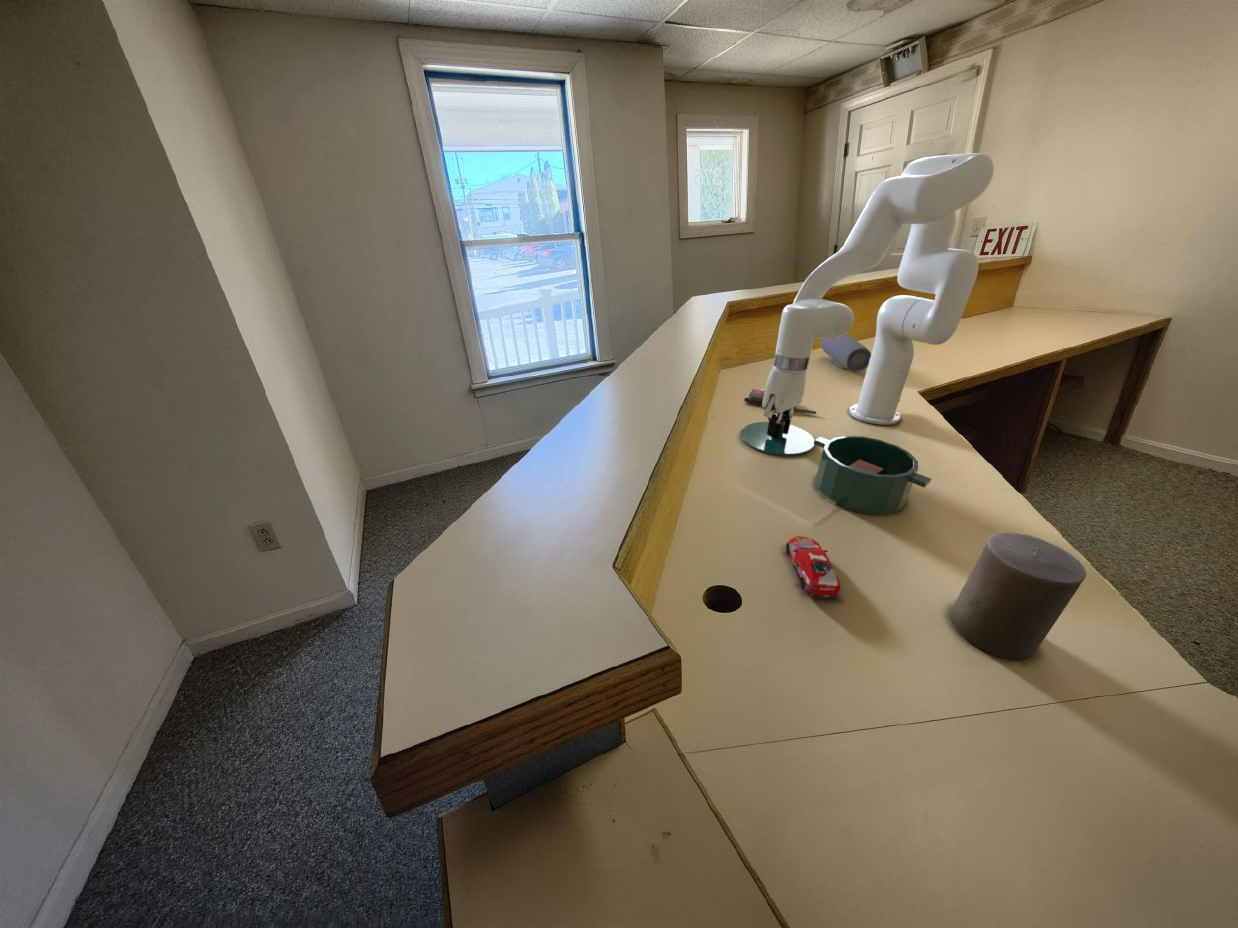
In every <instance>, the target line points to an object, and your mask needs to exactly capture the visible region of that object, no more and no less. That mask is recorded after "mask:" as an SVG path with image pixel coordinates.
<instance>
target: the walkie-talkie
mask: <svg viewBox="0 0 1238 928" xmlns="http://www.w3.org/2000/svg"><path fill="white" fill-rule="evenodd" d="M765 389H766V388H762V389H756V388H755V389H754V388H752V389H751V391H750V392H749V394H748V397H745V398H744V399H743V401H744V402H746V403H748V404H750V405H756V406H762V403H763V398H764V393H765ZM775 409H776V408H775ZM793 413H800V414H806V413H807V414H812V415H816V414H817V411H816V410H810V409H804V408H798V407H796V408H795V410H794V412H793Z"/></svg>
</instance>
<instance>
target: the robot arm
mask: <svg viewBox="0 0 1238 928" xmlns="http://www.w3.org/2000/svg"><path fill="white" fill-rule="evenodd" d="M994 167H995V165H994V162H993V159H992V158H991V157H990V156H989V155H988V154H985V153H981V152H976V153H974V152H973V153H961V154H944V155H943V154H942V155H934V156H933V155H932V156H925V157H921V158H918V159H915V160H913V161H911V162H910V163H908V164H907V165H906V166H905V167H904V169H903V171H902V173H901V175H900V176H899V175H898V176H893V177H890V178H886V179H884V180H883V181H882V182H880V183H879V184H878V185H877V186H876V188H875V189H874V191H873V193H872V194H871V195H870V198H869V199H868V201H867V203H866V205H865V207H864V208H863V210H862V211H861V213H860V215H859V217H858V219H857V220H856V223H855V225H854V226H853V228H852V230H851V231H850V233H849V235H848V237H847V238H846V241H845V242H844V244H843V245H842V247H841V248H840V249H838V251H836V252H835V253H833V254H832V255H830V257H828V258H827V259H826V260H824V261H823V262H822V263H821V264H820V265H819V266H818V267H816V268H815V269H814V270H813V271H812V272H811V273H810V274H808V276H807V277H806V278H805V280H804V282H803V283H802V285H801V286H800V289H799V291H798V292H797V294H796V296H795V297H794V299H793V302H792V303H790V304H787V305H786V306H784V308H783V309H782V311H781V317H780V323H779V328H778V334H777V340H776V347H775V353H774V358H773V365H772V368H771V370H770V372H769V375H768V378H767V381H766V385H765V388H764V389H765V390H764V391H765V393H764V398H763V403H762V405H761V406H762V408H763V409H765V410H764V412H763V416H764V417H766V418H767V422H769V424H768V430H767V435H769V436H771V437H774V438H776V439H777V438H779V436H780V431H781V426H782V423H780V422H781V418H782V419H784V420H785V421H786V422H785V427H784V432H783V433H784V434H788V432H789V427H790V425H791V421H792V419H793V417H794V413H795V412H794V410H795V408H798V406H799V405H800V404H801V403H802V402H803V401H802V400H803V397H804V392H805V388H806V383H807V382H806V381H807V373H808V372H807V371H808V370H809V364H810V359H811V354H812V350H813V345H814V341H815V339H821V340H822V339H835V338H839V337H841V336H843V335H847V333H848V332H849V331H850V330H851V329H852V327H853V325H854V322H855V315H854V311H852V309H851V308H850V307H849V306H847V304H843V303H841V302H835V301H832V300H828V299H823V298H824V296H825V295H826V293H827V292H828V291H829V290H830V289H831V288H832V287H833V286H834V285H835V284H837V283H838V282H840V281H841V280H844V279H846V278H848V277H851V276H854V275H857V274H859V273H861V272H865V271H867V270H871V269H873V268H875V267H877V266H878V265H880V264H881V262H882V261H883V259H884V258H885V255H886V254H887V253H888V250H889V249H890V247H891V245H892V243H893V242H894V240H895V238H897V235H898V233H899V232H900V230H901V229H902V227H903V226H904V225H910V229H909V233H908V238H907V241H906V245H905V247H904V250H903V254H902V256H901V261H900V264H899V268H898V271H897V278H896V281H897V283H898V286H900V287H901V288H902V289H906V290H909V291H913V292H914V291H915V292H919V293H925V294H933V295H935V297H934V299H929V298H926V297H925V298H924V297H919V296H914V295H907V294H905V295H904V294H903V295H901V294H900V295H894V296H891V297H889V298H888V299H886V300H885V301H884V302H883V303H882V304H881V306H880V308H879V309H878V313H877V316H876V327H875V330H876V331H875V337H874V342H873V348H872V351H871V358H870V361H869V365H868V366H867V367H866V368H867V369H866V373H865V376H864V379H863V383H862V386H861V390H860V393H859V397H858V401H857V403H855V404H853V405H851V406H850V407H849V411H848V412H849V414H850V415H851V417H853V418H854V419H857V420H858V421H861V422H864V423H867V424H872V425H880V426H890V425H895V424H897V423H900V420H901V418H902V416H901V414H900V413H899V411H897V409H898V405H899V403H900V402H901V397H902V394H903V390H904V387H905V385H906V382H907V378H908V375H909V372H910V370H911V366H912V364H913V361H914V357H915V348H914V342H919V343H922V344H927V345H933V346H937V345H942V344H944V343H946V342H947V341H949V340H950V339H951V337H952V336H953V335H954V333H955V332H956V330H957V328H958V326H959V324H960V322H961V319H962V317H963V314H964V311H965V310H966V309H965V308H966V306H967V304H968V301H969V298H970V296H971V293H972V291H973V288H974V286H975V283H976V280H977V277H978V273H979V259H978V257H977V255H976V254H975V253H974V252H972V251H970V250H967V249H961V248H960V249H959V248H950V246H951V242H952V239H953V235H954V231H955V229H956V225H957V214H956V212H957V211H959V210H960V209H962V208H965V207H966V206H968V205H970V204H971V203H973V202H974V201H976V200H977V199H978V198H980V196H982V194H983V193H984V192H986V189H987V188H988V187H989V185H990V184H991V181H992V179H993V177H994V176H993V175H994V169H995V168H994ZM913 341H914V342H913ZM775 408H776V409H775Z"/></svg>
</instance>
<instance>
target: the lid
mask: <svg viewBox="0 0 1238 928" xmlns="http://www.w3.org/2000/svg"><path fill="white" fill-rule="evenodd" d="M785 422H786V421H785V420H784V419H782V418H781V422H780V423H782V426H781V431H780V436H779V438H777V439H776V438H774V437H771V436H769V435H767V430H768V424H769V421H758V422H752V423H749V424H747V425H745V426H743V428H741V430H740V433H739V438H740V440H741V442H742V443H744V444H745V445H746V446H748V448H751V449H752V450H755V451H757V452H759V453H764V454H766V455H767V454H768V455H771V456H777V457H778V456H781V457H795V456H801V455H805V454H808V453H809V452H811V451H812V450H813V449H814V448H815V446H816V445H815V444H814V440H815V438H814V437H813V436H812V434H811V433H810V432H808V431H807V430H805V429H803V428H801V427H799V426H795V425H793V424H790V427H789V432H788V434H784V433H783V432H784V427H785Z"/></svg>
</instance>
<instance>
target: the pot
mask: <svg viewBox="0 0 1238 928" xmlns="http://www.w3.org/2000/svg"><path fill="white" fill-rule="evenodd" d="M814 444H815V445H814V446H818V447H820V448H822V454H821V458H820V461H819V465H818V470H817V472H816V477H815V481H814V484H815V485H816V486H817V489H818V491H819V492H820V493H822V495H824V496H825V497H827V498H828V500H831V501H833V502H835V506H838V507H840V508H843V509H844V510H848V511H852V512H854V513H860V514H865V515H875V516H877V515H878V516H882V515H883V516H884V515H890V514H893V513H896V512H898V511H900V510H901V509H902V508H903V507H904V505H905V504H906V502H907V499H908V497H909V494H910V491H911V489H912V486H913V484H914V485H916V486H919V487H921V488H926V487H927V486H929V485H930V484H931V481H932V478H930V477H928V476H925V475H923V474H920V473H918V470H919V461H918V460H917V459H916V457H915V456H914V455H913V454H912V453H911V452H910V451H907V450H906V449H904V448H903V447H901V446H899V445H897V444H894V443H891V442H888V441H885V440H883V439H878V438H872V437H868V436H861V435H842V436H836V437H833V438H831V439H827V438H825V437H823V436H819V437H818V438H814ZM859 459H860V460H862V461H865V462H868V463H870V464H873V465H875V466H878V467H880V468H883V469H884V470H883V473H882V475H881V474H873V473H868V472H864V471H859V470H856V469H854V468H851V467H849V465H851V464H853V463H854V462H856V461H858V460H859Z"/></svg>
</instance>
